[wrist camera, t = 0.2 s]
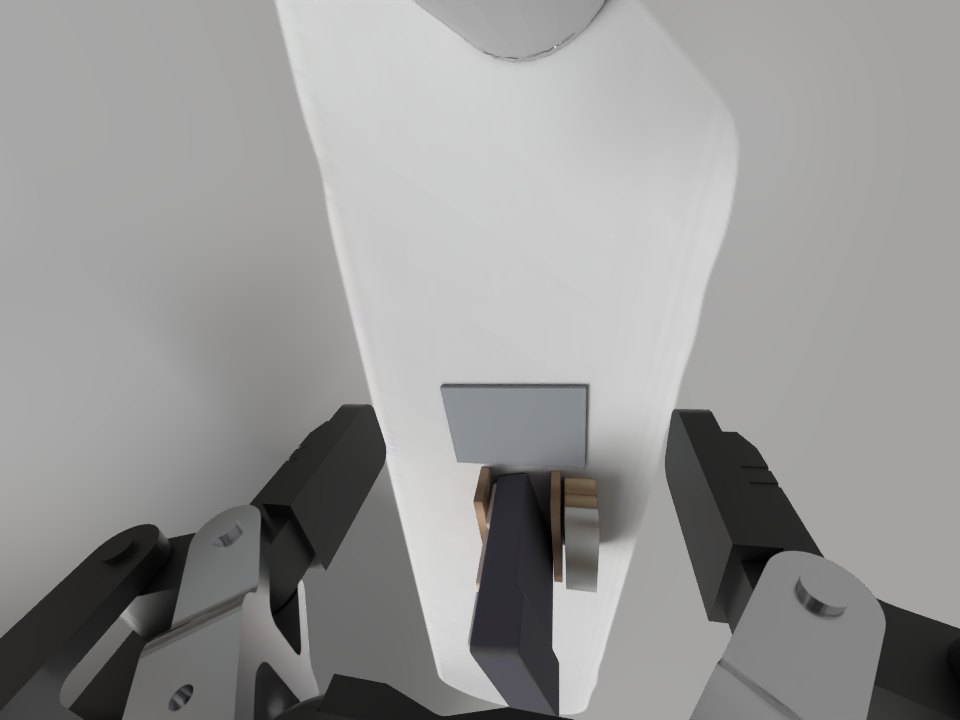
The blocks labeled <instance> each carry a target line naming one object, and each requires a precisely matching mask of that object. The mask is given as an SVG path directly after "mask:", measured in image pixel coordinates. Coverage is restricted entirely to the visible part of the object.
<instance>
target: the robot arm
mask: <svg viewBox="0 0 960 720" xmlns="http://www.w3.org/2000/svg"><path fill="white" fill-rule="evenodd" d="M412 1H413V2H415V3H416V4H417V5H419V6H420V7H421V8H423V9H424V10H425V11H427V12H428V13H430V14H431V15H432V16H434V17H435V18H436V19H438V20H439V21H440V22H442V23H443V24H444V25H446V26H447V27H448V28H450V29H451V30H453V31H454V32H455V33H457V34H458V35H459V36H460V37H462V38H463V39H464V40H466V41H467V42H469V43H470V44H471V45H473V46H474V47H475V48H477V49H478V50H480V51H482V52H483V53H485V54H487V55H490V56H492V57H494V58H496V59H501V60H506V61H510V62H523V61H533V60H536V59H539V58H542V57H545V56H549V55H551V54H553V53H554V52H556V51H558V50H559V49H561V48H563V47H564V46H566V45H568V44H569V43H570V42H571V41H572V40H573V39H575V38H576V37H577V36H578V35H579V34H580V33H581V32H582V31H583V30H584V29H585V28H586V27H587V26H588V25H589V23H590V22H591V21H592V19H593V18H594V17H595V15H596V14H597V13H598V11H599V10H600V9H601V7H602V6H603V4H604V2H605V0H412ZM385 458H386V445H385V441H384V438H383V435H382V432H381V429H380V426H379V423H378V420H377V417H376V414H375V411H374V409H373V407H372V406H371V405H368V404H367V405H366V404H364V405H363V404H345V405H342V406H341V407H340V408H339V409H338V411H337V412H336V413H335V414H334V416H333V417H332V418H331V419H330V420H329V421H326V422H325V423H324V424H322V425H321V426H319V427H318V428H316V429H315V430H314V431H312V432H311V433H310V434H309V435H308V436H307V437H306V438H305V440H304V441H303V442H302V443H301V444H300V445H299V449H296V450H295V451H294V452H293V454H292V455H291V456H290V457H289V461H286V462H285V463H284V464H283V465H282V467H281V468H280V469H279V470H278V471H277V472H276V474H275V475H274V476H273V477H272V478H271V479H270V481H269V482H268V483H267V484H266V485H265V487H264V488H263V489H262V490H261V491H260V492H259V494H258V495H257V496H256V497H255V498H254V500H253V501H252V502H251V503H250V504H249V505H240V506H235V507H232V508H229V509H227V510H225V511H223V512H221V513H219V514H217V515H216V516H214V517H213V518H211V519H210V520H209V521H208V522H206V523H205V524H204V525H203V526H202V527H201V528H200V529H199V530H198V532H197V533H193V534H188V535H183V536H179V537H174V538H170V539H167V538H166V537H165V536H164V535H163V533H162V532H161V531H160V530H159V529H158V528H157V527H156V526H155V525H151V524H144V525H139V526H135V527H132V528H130V529H127V530H125V531H123V532H121V533H119V534H117V535H116V536H114V537H112V538H111V539H109V540H108V541H106V542H105V543H103V544H102V545H101V546H99V547H98V548H97V549H96V550H95V551H94V552H93V553H92V554H90V555H89V556H88V557H87V558H86V559H85V560H84V561H83V562H82V563H81V564H80V565H79V566H78V567H77V568H75V569H74V570H73V571H72V572H71V573H70V574H69V575H68V576H67V577H66V578H65V579H64V580H63V581H62V582H60V583H59V584H58V585H57V586H56V587H55V588H54V589H53V590H52V591H51V592H50V593H49V594H48V595H46V596H45V597H44V598H43V599H42V600H41V601H40V602H39V603H38V604H37V605H36V606H35V607H34V608H33V609H32V610H30V611H29V612H28V613H27V614H26V615H25V616H24V617H23V618H22V619H21V620H20V621H19V622H18V623H16V624H15V625H14V626H13V627H12V628H11V629H10V630H9V631H8V632H7V633H6V634H5V635H4V636H3V637H2V638H0V720H573V719H568V718H562V717H557V716H552V715H547V714H542V713H536V712H531V711H526V710H521V709H516V708H510V707H506V708H499V709H492V710H486V711H480V712H472V713H465V714H458V715H452V716H440V715H437V714H435V713H433V712H432V711H430V710H428V709H427V708H425V707H423V706H422V705H420V704H419V703H417V702H415V701H414V700H412V699H411V698H409V697H407V696H406V695H404V694H402V693H401V692H399V691H398V690H396V689H394V688H392V687H391V686H389V685H388V684H385V683H379V682H374V681H369V680H364V679H359V678H354V677H348V676H343V675H338V674H334V675H333V678H332V680H331V683H330V685H329V687H328V689H327V692H326V693H324V694H321V695H320V694H319V690H318V686H317V683H316V680H315V678H314V675H313V672H312V668H311V663H310V655H309V641H308V628H307V616H306V602H305V589H304V584H303V582H302V581H301V579H302V577H303V576H304V574H305V572H306V570H307V569H312V570H320V571H326V570H327V568H328V566H329V564H330V563H331V561H332V559H333V557H334V555H335V553H336V551H337V550H338V548H339V546H340V544H341V542H342V541H343V539H344V537H345V535H346V533H347V531H348V529H349V528H350V526H351V524H352V522H353V520H354V519H355V517H356V515H357V513H358V511H359V509H360V508H361V506H362V504H363V502H364V500H365V498H366V497H367V495H368V493H369V491H370V489H371V487H372V486H373V484H374V482H375V480H376V478H377V477H378V474H379V473H380V471H381V469H382V467H383V465H384V463H385ZM665 471H666V478H667V482H668V486H669V489H670V492H671V496H672V499H673V502H674V506H675V509H676V512H677V516H678V519H679V523H680V526H681V529H682V533H683V536H684V539H685V543H686V546H687V550H688V553H689V556H690V559H691V563H692V566H693V569H694V573H695V576H696V579H697V583H698V586H699V590H700V593H701V596H702V600H703V603H704V607H705V610H706V613H707V617H708V620H709V621H714V622H722V623H729V626H730V629H731V632H732V637H731V639H730V642H729V644H728V646H727V648H726V650H725V652H724V654H723V656H722V658H721V660H720V661H719V662H718V663H717V665H716V666H715V668H714V670H713V672H712V674H711V677H710V678H709V680H708V682H707V684H706V686H705V689H704V691H703V693H702V695H701V697H700V699H699V701H698V703H697V705H696V707H695V709H694V711H693V714H692V716H691V718H690V720H960V629H959V628H956V627H953V626H951V625H948V624H945V623H942V622H939V621H936V620H933V619H930V618H927V617H924V616H921V615H919V614H915V613H913V612H910V611H907V610H904V609H901V608H898V607H895V606H893V605H890V604H888V603H885V602H883V601H881V600H879V599H877V598H875V596H874V595H873V594H872V593H871V591H870V590H869V589H868V588H867V587H866V586H865V585H864V584H863V583H862V582H861V581H860V580H859V579H858V578H856V577H855V576H854V575H853V574H851V573H850V572H848V571H847V570H845V569H844V568H843V567H841V566H839V565H837V564H836V563H834V562H832V561H830V560H827V559H825V558H824V556H823V555H822V553H821V552H820V550H819V549H818V547H817V546H816V544H815V542H814V541H813V539H812V537H811V536H810V534H809V532H808V531H807V529H806V528H805V526H804V524H803V523H802V521H801V519H800V518H799V516H798V515H797V513H796V511H795V510H794V508H793V507H792V505H791V503H790V501H789V500H788V498H787V497H786V495H785V493H784V492H783V490H782V489H781V488H780V487H779V486H778V482H777V480H776V479H775V477H774V475H773V474H772V472H771V471H769V470H768V466H767V464H766V462H765V461H764V459H763V458H762V456H761V454H760V453H759V451H758V450H757V448H756V447H755V446H753V445H752V444H751V443H750V442H748V441H747V440H746V439H745V438H743V437H742V436H741V435H739V434H738V433H737V432H722V430H721V429H720V427H719V425H718V423H717V421H716V419H715V418H714V415H713V414H712V412H711V411H710V410H700V409H698V410H697V409H696V410H695V409H674V410H673V412H672V415H671V422H670V428H669V435H668V442H667V449H666V455H665ZM118 617H120V618H121V619H122V620H123V621H124V622H126V623H127V624H128V625H129V626H130V627H131V628H132V629H133V631H132V632H131V634H130V635H129V636H128V637H127V638H126V640H125V641H124V642H123V643H122V645H121V646H120V647H119V648H118V649H117V651H116V652H115V653H114V654H113V656H112V657H111V658H110V659H109V660H108V662H107V663H106V664H105V665H104V666H103V668H102V669H101V670H100V671H99V673H98V674H97V675H96V676H95V677H94V679H93V680H92V681H91V683H90V684H89V685H88V686H87V687H86V688H85V690H84V691H83V692H82V693H81V695H80V696H79V697H78V698H77V699H76V701H75V702H74V703H73V704H72V706H71V707H70V708H69V709H67V708H65V707H64V706H63V705H62V704H61V702H60V698H59V697H60V690H61V688H62V685H63V683H64V681H65V679H66V678H67V676H68V675H69V673H70V672H71V671H72V670H73V669H74V668H75V667H76V665H77V664H78V663H79V662H80V661H81V660H82V659H83V657H84V656H85V655H86V654H87V653H88V652H89V650H90V649H91V648H92V647H93V646H94V645H95V644H96V642H97V641H98V640H99V639H100V638H101V637H102V636H103V634H104V633H105V632H106V631H107V630H108V629H109V628H110V626H111V625H112V624H113V623H114V622H115V621H116V619H117V618H118Z"/></svg>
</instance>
